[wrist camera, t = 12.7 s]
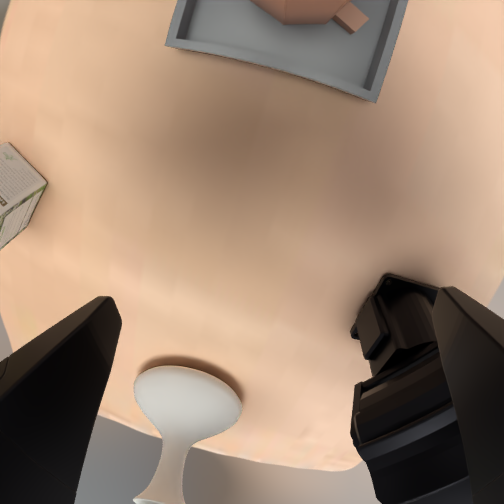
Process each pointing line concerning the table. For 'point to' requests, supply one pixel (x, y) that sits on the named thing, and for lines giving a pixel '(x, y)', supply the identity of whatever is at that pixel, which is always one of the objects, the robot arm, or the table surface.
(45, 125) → the table surface
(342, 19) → the ring tube
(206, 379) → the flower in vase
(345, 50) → the charcoal tray
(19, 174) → the syrup box
